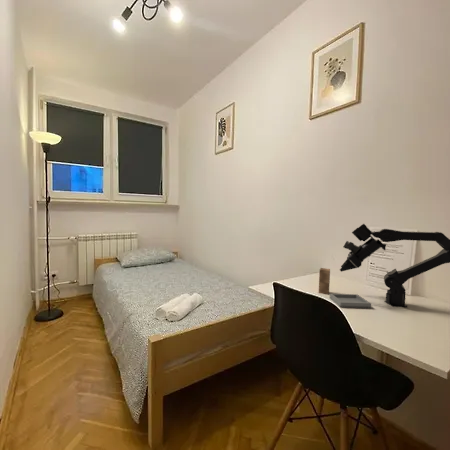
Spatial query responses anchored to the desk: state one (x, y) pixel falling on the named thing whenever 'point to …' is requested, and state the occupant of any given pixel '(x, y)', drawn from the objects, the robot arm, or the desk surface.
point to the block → (324, 280)
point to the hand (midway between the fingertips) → (341, 268)
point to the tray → (350, 301)
